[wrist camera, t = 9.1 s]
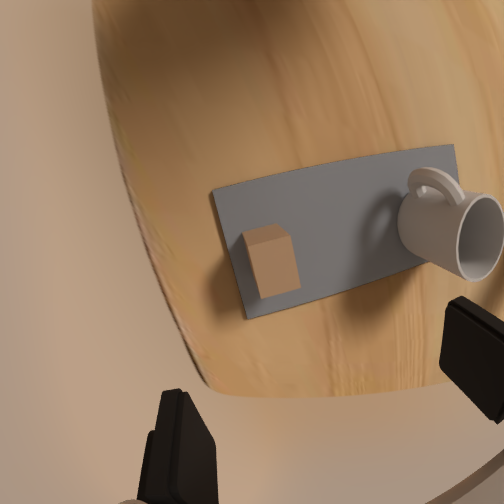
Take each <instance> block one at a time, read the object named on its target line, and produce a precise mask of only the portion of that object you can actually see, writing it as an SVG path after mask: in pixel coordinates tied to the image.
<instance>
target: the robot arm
mask: <svg viewBox="0 0 504 504" xmlns="http://www.w3.org/2000/svg"><path fill="white" fill-rule="evenodd" d="M439 366H440V368H441V370H442V371H443V372H444V373H445V374H446V375H447V376H448V377H449V378H450V379H451V380H452V381H453V382H454V383H455V384H456V385H457V386H458V387H459V388H460V389H461V390H462V391H463V392H464V394H465V395H466V396H468V398H470V400H471V401H472V402H473V403H474V404H475V405H476V406H477V407H478V408H479V409H480V410H481V411H482V412H483V413H484V414H485V416H486V417H487V418H488V419H489V420H494V421H495V423H496V424H499V423H500V422H501V421H502V420H504V322H503V321H502V320H500V319H499V318H497V317H496V316H494V315H493V314H491V313H489V312H488V311H486V310H485V309H483V308H482V307H480V306H478V305H477V304H475V303H474V302H472V301H470V300H469V299H467V298H465V297H464V296H459V297H457V298H455V299H453V300H451V301H450V302H449V303H448V306H447V308H446V310H445V320H444V330H443V338H442V346H441V353H440V359H439ZM120 504H219V501H218V484H217V461H216V445H215V441H214V439H213V437H212V435H211V434H210V432H209V430H208V429H207V427H206V425H205V424H204V421H203V420H202V418H201V416H200V414H199V412H198V411H197V409H196V407H195V405H194V403H193V401H192V399H191V397H190V395H189V394H188V392H182V390H181V389H179V388H178V389H173V390H166V391H163V392H162V395H161V400H160V405H159V410H158V415H157V421H156V426H155V430H152V431H150V432H149V434H148V437H147V442H146V447H145V453H144V459H143V464H142V470H141V476H140V481H139V488H138V494H137V500H126V501H124V502H121V503H120ZM426 504H504V449H503V450H502V451H501V452H500V453H499V454H497V455H496V456H495V457H494V458H493V459H491V460H490V461H489V462H488V463H487V464H485V465H484V466H482V467H481V468H480V469H478V470H477V471H476V472H474V473H473V474H472V475H470V476H469V477H467V478H466V479H465V480H463V481H461V482H460V483H458V484H457V485H455V486H454V487H452V488H451V489H449V490H448V491H446V492H444V493H443V494H441V495H439V496H438V497H436V498H435V499H433V500H431V501H429V502H427V503H426Z"/></svg>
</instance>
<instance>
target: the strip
mask: <svg viewBox="0 0 504 504" xmlns="http://www.w3.org/2000/svg"><path fill="white" fill-rule="evenodd" d="M423 167H432V168H436V169H439V170H441V171H443V172H445V173H447V174H449V175H450V176H451V177H452V178H453V179H454V180H455V181H456V182H457V183H458V185H459V178H458V170H457V163H456V156H455V150H454V144H451V145H442V146H433V147H425V148H417V149H410V150H403V151H396V152H390V153H383V154H377V155H371V156H365V157H359V158H354V159H348V160H343V161H337V162H332V163H327V164H322V165H317V166H312V167H307V168H302V169H298V170H293V171H289V172H284V173H280V174H275V175H271V176H267V177H263V178H258V179H254V180H250V181H246V182H242V183H238V184H234V185H230V186H226V187H223V188H219V189H215V190H212V192H213V196H214V199H215V203H216V207H217V211H218V214H219V218H220V222H221V226H222V229H223V233H224V237H225V240H226V244H227V248H228V251H229V255H230V258H231V262H232V266H233V269H234V273H235V276H236V280H237V284H238V287H239V291H240V294H241V298H242V301H243V305H244V308H245V312H246V315H247V319H250V318H254V317H258V316H261V315H265V314H269V313H272V312H276V311H279V310H283V309H286V308H290V307H293V306H297V305H300V304H304V303H307V302H310V301H314V300H317V299H320V298H323V297H327V296H330V295H333V294H336V293H339V292H342V291H345V290H349V289H352V288H355V287H358V286H361V285H364V284H367V283H370V282H373V281H375V280H378V279H381V278H384V277H387V276H390V275H393V274H395V273H398V272H401V271H404V270H406V269H409V268H412V267H415V266H417V265H420V264H423V263H425V262H428V261H427V260H425V259H423V258H421V257H419V256H417V255H415V254H413V253H412V252H410V251H409V250H408V249H406V247H405V246H404V245H403V243H402V241H401V239H400V236H399V232H398V226H397V221H398V213H399V209H400V206H401V204H402V202H403V200H404V198H405V197H406V196H407V195H408V193H409V192H410V191H409V188H408V185H407V183H408V178H409V175H410V173H411V172H412V171H413V170H415V169H419V168H423Z"/></svg>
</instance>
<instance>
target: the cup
mask: <svg viewBox="0 0 504 504" xmlns="http://www.w3.org/2000/svg"><path fill="white" fill-rule="evenodd" d="M407 185H408V188H409V191H410V192H409V193H408V195H407V196H406V197H405V198H404V200H403V202H402V204H401V206H400V209H399V213H398V221H397V226H398V232H399V236H400V239H401V241H402V243H403V245H404V246H405V247H406V249H408V250H409V251H410V252H412V253H413V254H415V255H417V256H419V257H421V258H423V259H425V260H427V261H429V262H432V263H434V264H436V265H438V266H440V267H442V268H444V269H446V270H448V271H450V272H452V273H454V274H456V275H457V276H459V277H461V278H463V279H465V280H467V281H470V282H478V281H481V280H482V279H484V278H486V277H487V276H488V275H489V274H490V273H491V272H492V270H493V269H494V267H495V266H496V264H497V263H498V260H499V258H500V256H501V253H502V250H503V246H504V212H503V210H502V207H501V205H500V203H499V202H498V201H497V199H496V198H495V197H493V196H491V195H489V194H483V193H477V192H471V191H465V190H462V189H461V188H460V186H459V185H458V183H457V182H456V181H455V180H454V179H453V178H452V177H451V176H450V175H449V174H447V173H445V172H443V171H441V170H439V169H436V168H432V167H423V168H419V169H415V170H413V171H412V172H411V173H410V175H409V178H408V183H407Z"/></svg>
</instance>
